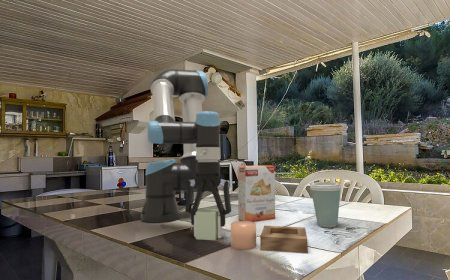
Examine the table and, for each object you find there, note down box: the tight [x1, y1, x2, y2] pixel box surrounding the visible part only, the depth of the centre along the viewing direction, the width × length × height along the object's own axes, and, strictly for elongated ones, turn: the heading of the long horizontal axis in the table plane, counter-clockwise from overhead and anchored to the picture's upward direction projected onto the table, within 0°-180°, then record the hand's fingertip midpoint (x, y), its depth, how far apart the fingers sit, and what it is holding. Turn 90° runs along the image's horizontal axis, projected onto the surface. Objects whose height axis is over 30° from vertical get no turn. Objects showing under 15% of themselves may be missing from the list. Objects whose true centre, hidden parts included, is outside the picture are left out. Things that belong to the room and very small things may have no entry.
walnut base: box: [259, 225, 309, 254], centre depth 80 cm, size 12×12×4 cm
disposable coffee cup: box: [309, 181, 342, 228], centre depth 102 cm, size 11×11×15 cm
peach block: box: [230, 220, 257, 250], centre depth 80 cm, size 7×7×6 cm
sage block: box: [195, 208, 220, 241], centre depth 88 cm, size 6×6×8 cm
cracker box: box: [237, 165, 276, 222], centre depth 112 cm, size 14×6×21 cm, turn 117°
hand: (208, 236), depth 88 cm, fingers open, 7 cm apart
